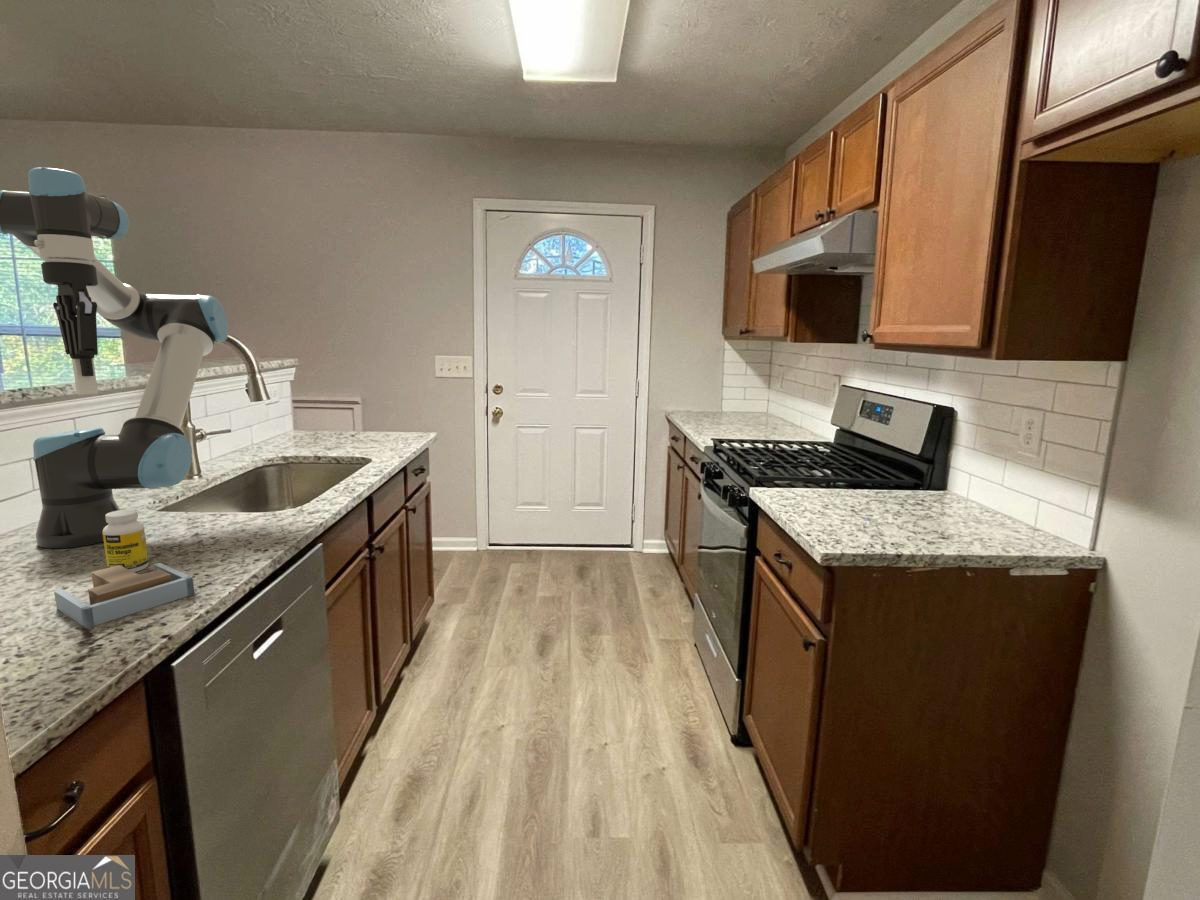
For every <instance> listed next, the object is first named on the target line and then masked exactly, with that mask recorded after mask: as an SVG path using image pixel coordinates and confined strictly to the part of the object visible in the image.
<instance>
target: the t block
mask: <svg viewBox="0 0 1200 900" xmlns="http://www.w3.org/2000/svg"><path fill="white" fill-rule="evenodd" d="M90 573H91V580H92V585H93V587H92V588H91V587H90V588H88V589H87V590H88V591H87V592H88V598H89V605H93V604H96V603H100V602H103V601H107V600H110V599H113V598H117V597H120V596H124V595H127V594H130V593H134V592H137V591H141V590H144V589H147V588H151V587H154V586H158V585H161V584H164V583H168V582H171V574H168V573H166V572H164V571H162V570H160V569H159V570H156V571H155V570H153V571H149V572H146V573H141V574H139V573H137V572H132V571H130V570H128V569H126V568H124V567H122V566H120V565H117V566H113V567H109V568H107V567H106V568H103V569H98V570H94V571H91V572H90Z"/></svg>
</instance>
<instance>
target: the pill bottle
mask: <svg viewBox="0 0 1200 900" xmlns="http://www.w3.org/2000/svg"><path fill="white" fill-rule="evenodd" d="M105 517H106V522H107V523H108V525H107V526H106V527H105V528H104V529H103V540H104V542H103V545H104V546H103V547H104V554H105V561H106V568H109V567H113V566H117V565H120V566H122V567H124V568H126V569H128V570H130V571H132V572H134V573H137V572H140V571H143V570H145V569H146V568H147V567H148V566H149V556H148V549H147V540H146V532H145V525H144V523H142V522H141V521H139V520H138V519H139V518H138V517H139V515H138V511H137V510H136V509H120V510H118V511H113V512H110V513H107V514H106V515H105Z"/></svg>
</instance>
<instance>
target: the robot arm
mask: <svg viewBox="0 0 1200 900" xmlns="http://www.w3.org/2000/svg"><path fill="white" fill-rule="evenodd" d="M27 177H28V191H15V190H6V189H4V190H0V234H2V235H9V234H10V235H12V236H14V237H15V238H16V239H17V240H19V241H20V242H21V243H22V244H24V245H25V246H26V247H27V248H29V250H31V251H32V252H33V253H34V254H35V255H36V256H38V257H39V258H40V259H41V260H42V261H43V262H42V263H41V264H40V267H41V272H42V274H41V275H42V278H43V279H42V280H43V283H44V284H47V285H52V286H53V285H54V286H57V295H56V297H55V298H56V299H55V300H56V302H53V305H52V306H53V309H54V311H55V314H56V318H57V321H58V325H59V329H60V334H61V338H62V342H63V347H64V351H65V354H66V355H69V356H70V358H71V363H72V369H73V375H74V383H75V389H76V394H77V395H79V396H81V395H83V396H84V395H98V394H99V390H98V382H97V375H96V370H95V369H96V368H95V363H94V358H95V356H98V354H99V351H98V349H99V348H98V331H97V329H98V327H97V326H98V325H97V313H98V314H99V315H100V316H101V317H102V318H103V319H104V320H106V321H107V322H108V323H110V324H111V325H113V326H115V327H116V328H118V329H120V330H121V331H124V332H125V333H128V334H130V335H132V336H134V337H137V338H139V339H143V340H146V341H149V342H159V343H160V347H159V350H158V352H157V356H156V358H155V361H154V363H153V366H152V369H151V372H150V375H149V378H148V379H147V380H148V381H147V383H146V386H145V387H144V392H143V394H142V398H141V400H140V401H139V405H138V408H137V411H136V413H135V416H134V417H130V418H128V419H127V420H125V421H124V422H123V424H122V427H121V428H120V431H119V433H118V434H106V431H105V430H104V428H102V427H90V428H89V427H88V428H81V429H75V430H69V431H62V432H61V431H60V432H57V433H52V434H47V435H43V436H39V437H38V438H37V439H35V440H34V441H33V445H32V446H33V447H32V448H33V458H32V459H33V461H34V465H35V471H36V476H37V481H38V482H37V483H38V488H39V492H40V493H39V495H40V498H41V504H42V505H41V507H42V508H41V512H40V516H39V520H38V524H37V528H36V532H35V539H36V545H37V546H38V547H40V548H43V549H44V548H46V549H66V548H75V547H76V548H77V547H78V548H79V547H83V546H90V545H95V544H99V543H104V540H103V529H104V528H105V527H106V526H107V525H108V523H107V522H106V517H105V515H106V514H107V513H110V512H113V511H118V510H121V509H120V507H119V505H118V504H117V502H116V500H115V499H114V494H113V490H123V489H124V490H132V489H133V490H135V489H150V490H155V489H161V488H171V487H174V486H176V485H178V484H180V483H181V482H182V481H183V480H185V479H184V478H185V477H186V476H187V474H188V473H189V472H190V468H191V465H192V461H193V460H192V459H193V458H192V456H191V455H192V453H193V449H192V445H191V442H190V440H189V439H188V437H186V434H185V431H184V430H183V429H182V424H183V421H184V418H185V415H186V411H187V408H188V404H189V402H190V398H191V395H192V392H193V388H194V386H195V382H196V380H197V375H198V372H199V369H200V366H201V363H202V360H203V357H205V356H207V355H210V353H212V351H213V348H214V346H215V343H218V344H221V343H223V342H226V341H227V340H228V336H229V325H228V320H227V316H226V312H225V309H224V307H223V305H222V303H221V302H220V300H219V299H218V298H216V297H215V296H212V295H204V294H200V293H197V294H164V293H163V294H162V293H161V294H159V293H157V294H156V293H155V294H154V293H146V292H141V291H138V290H137V289H136V288H135V287H133V286H132V285H130V284H127V283H123V282H122V281H121V280H120V279H119V278H118V277H117V276H116V275H115V274H114V273H113V272H112V271H111V270H110V269H108V268H107V267H106V266H105V265H104V264H103V262H101V261H100V260H99V258H97V257H96V256H95V255H96V254H95V248H94V242H93V239H92V237H97V238H99V239H102V240H104V239H107V240H117V239H121V238H122V237H124V236H125V235H126V234H127V232H128V231H129V228H130V219H129V215H128V213H127V211H126V210H125V208H123V206H121V205H120V204H118V203H117V202H115V201H112V200H110V199H109V198H107V197H105V196H99V195H97V194H93V193H90V192H88V191H87V187H86V185H85V182H84V179H83V177H82V175H80V173H76V172H74V171H70V170H65V169H60V168H53V167H33V168H31V169H30V170H29V171H28V173H27Z"/></svg>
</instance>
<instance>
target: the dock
mask: <svg viewBox="0 0 1200 900" xmlns="http://www.w3.org/2000/svg"><path fill="white" fill-rule="evenodd" d="M153 569H154V570H153V571H156V570H159V569H160V570H162V571H164V572H166V573H168V574H171V582H168V583H164V584H161V585H158V586H154V587H151V588H147V589H144V590H141V591H137V592H134V593H130V594H127V595H124V596H120V597H117V598H113V599H110V600H107V601H103V602H100V603H96V604H93V605H90V604H89V605H88V604H87V603H85V602H84V601H83V600H80V599H79V598H77V597H76V596H74V595H72V594H71V593H69V592H67V591H66V590H64V589H63V588H62V589H61V588H60V589H58V590H54V591H53V594H54V599H55V605H56V609H57V610H59V611H60V612H61V613H63V614H64V615H66V616H67V617H69V618H71V619H72V620H74V621H75V622H76V623H78V624H80V625H81V626H82V627H84V628H85V629H88V628H91V627H94V626H97V625H101V624H104V623H107V622H111V621H113V620H117V619H119V618H123V617H126V616H129V615H132V614H135V613H138V612H139V613H140V612H141V611H145V610H147V609H151V608H154V607H159V606H161V605H164V604H168V603H170V602H172V601H173V602H174V601H177V600H180V599H183V598H186V597H189V596H193V595H195V586H194V578H193V577H192V576H190V575H189V574H186V573H184V572H181V571H180V570H177V569H175V568H172V567H171V566H168V565H165V564H163V563H162V562H157V563H154V564H153Z"/></svg>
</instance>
